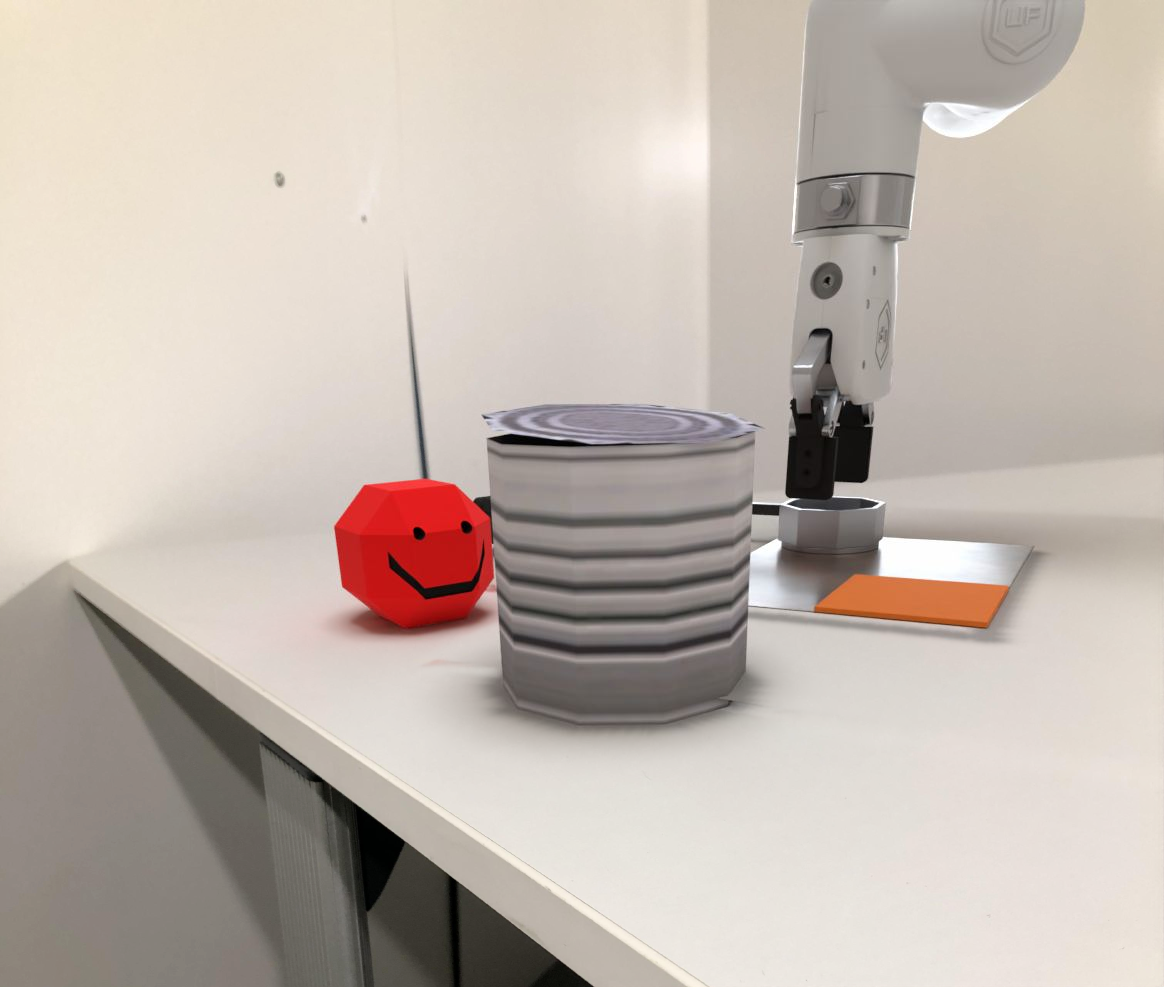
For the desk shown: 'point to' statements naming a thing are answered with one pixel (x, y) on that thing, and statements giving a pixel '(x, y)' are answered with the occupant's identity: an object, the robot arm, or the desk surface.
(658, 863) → the desk surface
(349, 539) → the ball
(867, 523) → the pan
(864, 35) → the robot arm
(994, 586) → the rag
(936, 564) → the board
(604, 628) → the can
